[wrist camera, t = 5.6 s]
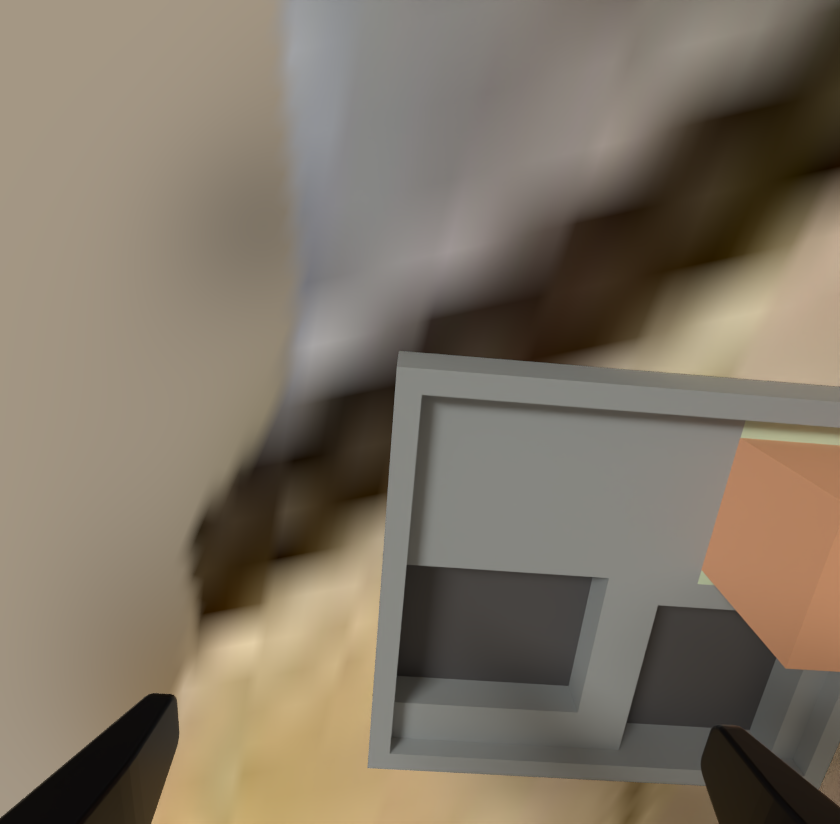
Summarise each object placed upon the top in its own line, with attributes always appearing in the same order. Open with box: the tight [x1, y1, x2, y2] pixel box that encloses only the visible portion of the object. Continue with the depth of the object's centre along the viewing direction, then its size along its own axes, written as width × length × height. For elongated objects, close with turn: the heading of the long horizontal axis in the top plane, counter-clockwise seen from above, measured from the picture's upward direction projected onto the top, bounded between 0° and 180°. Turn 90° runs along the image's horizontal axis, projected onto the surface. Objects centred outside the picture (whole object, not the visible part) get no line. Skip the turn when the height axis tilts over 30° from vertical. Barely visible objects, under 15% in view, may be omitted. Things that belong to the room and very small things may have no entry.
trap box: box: [368, 351, 840, 790], centre depth 20 cm, size 18×16×2 cm
